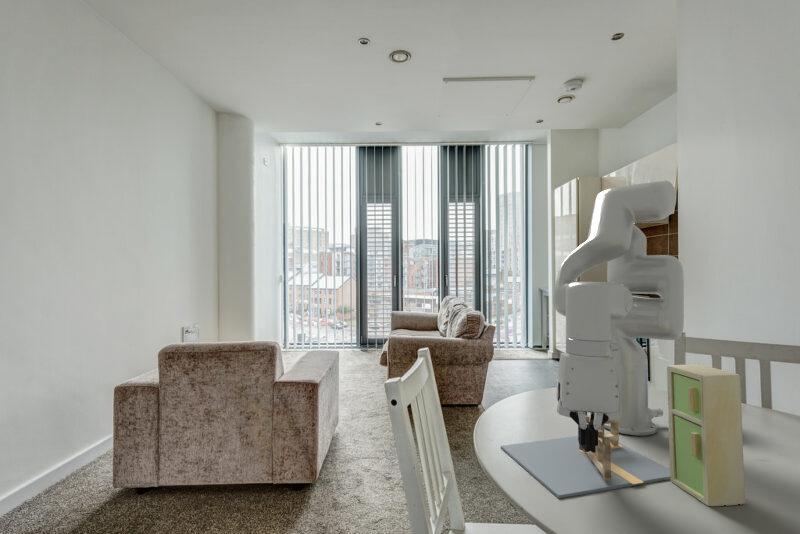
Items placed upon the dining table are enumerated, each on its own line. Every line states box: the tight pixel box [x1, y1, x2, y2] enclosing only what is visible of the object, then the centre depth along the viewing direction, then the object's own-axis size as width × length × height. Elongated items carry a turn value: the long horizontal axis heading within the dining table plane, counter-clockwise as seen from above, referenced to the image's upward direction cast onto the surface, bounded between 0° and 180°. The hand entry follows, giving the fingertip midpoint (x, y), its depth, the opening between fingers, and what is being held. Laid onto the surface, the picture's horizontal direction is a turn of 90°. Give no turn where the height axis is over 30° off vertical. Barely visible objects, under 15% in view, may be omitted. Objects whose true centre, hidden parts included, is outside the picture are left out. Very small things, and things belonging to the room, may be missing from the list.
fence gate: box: [583, 414, 612, 481], centre depth 73 cm, size 12×1×7 cm, turn 171°
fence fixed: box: [579, 412, 620, 450], centre depth 81 cm, size 9×2×9 cm, turn 105°
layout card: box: [500, 435, 671, 499], centre depth 75 cm, size 26×20×1 cm
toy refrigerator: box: [666, 363, 746, 507], centre depth 65 cm, size 8×7×21 cm
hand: (588, 448), depth 69 cm, fingers closed
